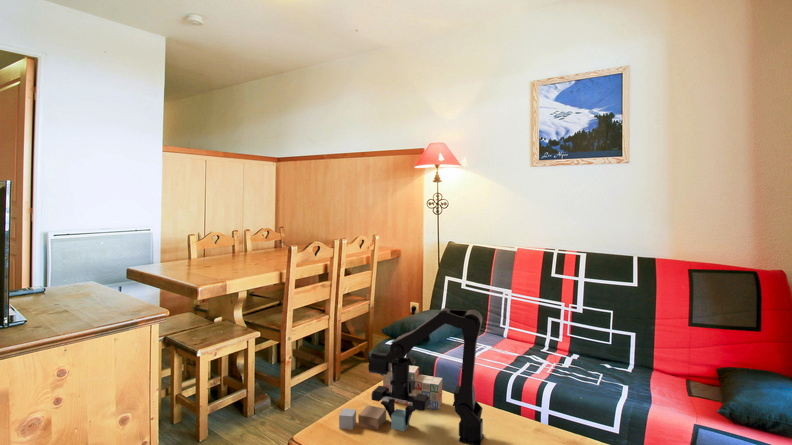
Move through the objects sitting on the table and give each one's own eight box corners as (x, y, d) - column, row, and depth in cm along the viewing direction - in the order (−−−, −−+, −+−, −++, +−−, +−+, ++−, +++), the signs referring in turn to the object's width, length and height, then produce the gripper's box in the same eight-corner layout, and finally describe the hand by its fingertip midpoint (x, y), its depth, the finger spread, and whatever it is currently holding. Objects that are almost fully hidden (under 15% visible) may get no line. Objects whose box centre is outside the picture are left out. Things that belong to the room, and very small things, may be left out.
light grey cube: (356, 422, 132) (356, 409, 132) (352, 430, 128) (352, 416, 128) (342, 421, 133) (343, 408, 133) (339, 428, 129) (339, 415, 129)
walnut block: (386, 420, 134) (386, 408, 134) (377, 431, 128) (378, 418, 128) (367, 416, 137) (367, 404, 137) (358, 426, 130) (358, 414, 130)
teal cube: (409, 424, 131) (409, 411, 131) (403, 431, 127) (404, 417, 127) (396, 421, 133) (396, 408, 133) (391, 428, 129) (391, 414, 129)
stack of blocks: (442, 402, 147) (442, 369, 146) (438, 410, 141) (438, 376, 140) (388, 392, 154) (389, 361, 154) (382, 400, 148) (382, 367, 148)
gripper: (435, 371, 133) (435, 417, 134) (385, 363, 141) (384, 406, 141) (424, 385, 123) (424, 434, 124) (370, 375, 131) (370, 421, 131)
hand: (400, 423), depth 130 cm, fingers closed on teal cube, 4 cm apart
